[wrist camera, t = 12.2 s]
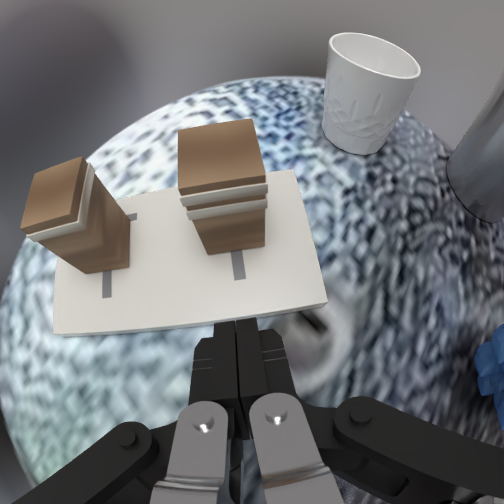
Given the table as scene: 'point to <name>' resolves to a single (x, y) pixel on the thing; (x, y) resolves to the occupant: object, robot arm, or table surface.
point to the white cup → (365, 91)
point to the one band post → (77, 218)
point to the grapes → (492, 370)
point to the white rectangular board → (193, 271)
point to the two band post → (223, 185)
